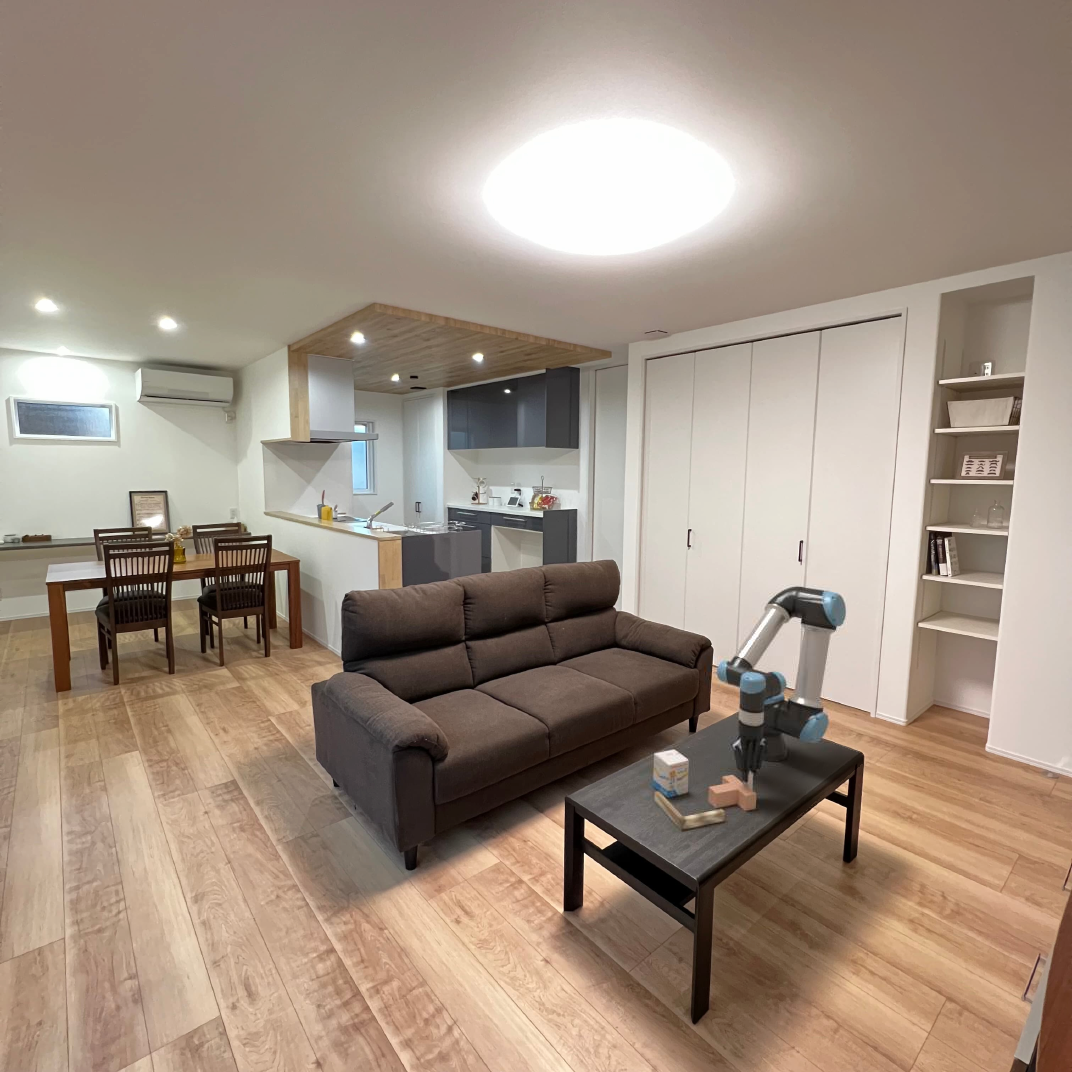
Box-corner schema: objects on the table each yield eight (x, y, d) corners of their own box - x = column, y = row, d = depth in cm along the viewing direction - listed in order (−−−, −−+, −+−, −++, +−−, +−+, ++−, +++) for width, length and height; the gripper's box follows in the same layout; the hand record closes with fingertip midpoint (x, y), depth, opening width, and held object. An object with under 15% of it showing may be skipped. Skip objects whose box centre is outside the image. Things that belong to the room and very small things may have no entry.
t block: (723, 815, 177) (723, 800, 177) (701, 794, 189) (701, 780, 188) (755, 808, 181) (756, 793, 180) (732, 788, 192) (732, 774, 192)
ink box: (667, 798, 186) (668, 764, 185) (652, 785, 194) (653, 753, 193) (688, 792, 190) (689, 759, 188) (673, 780, 198) (674, 748, 196)
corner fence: (694, 792, 190) (695, 784, 189) (724, 820, 174) (724, 811, 174) (654, 800, 185) (654, 792, 185) (681, 830, 170) (681, 820, 170)
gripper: (759, 714, 190) (756, 781, 192) (726, 719, 186) (723, 787, 188) (775, 723, 182) (772, 793, 185) (741, 728, 179) (738, 800, 181)
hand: (747, 790), depth 187 cm, fingers closed
